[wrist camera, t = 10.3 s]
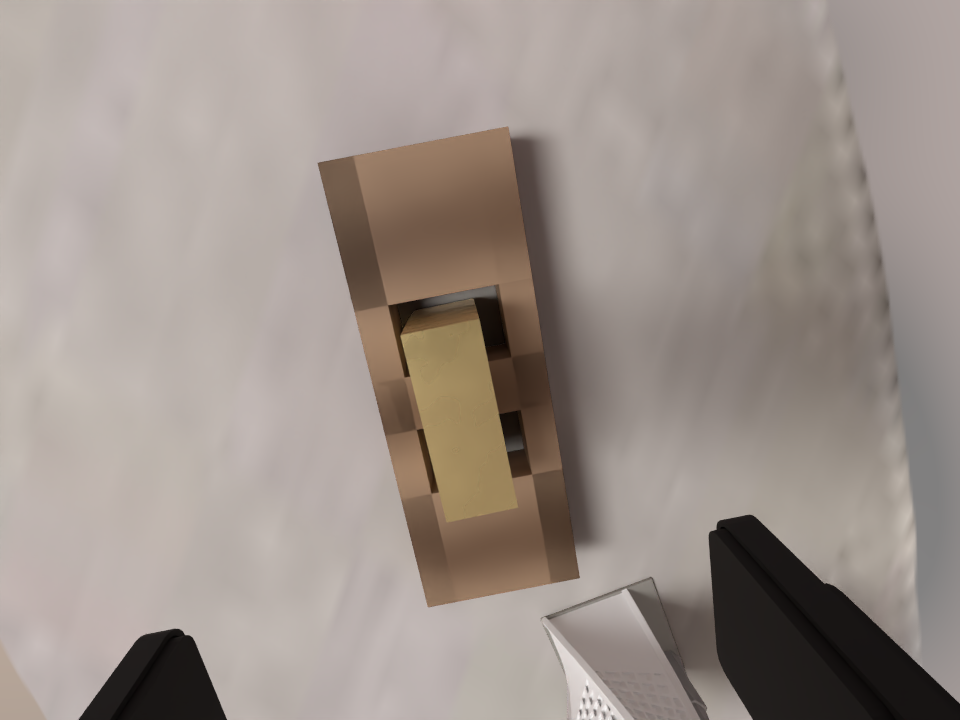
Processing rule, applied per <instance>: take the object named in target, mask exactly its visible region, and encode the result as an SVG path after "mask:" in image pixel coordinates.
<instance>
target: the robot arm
mask: <svg viewBox="0 0 960 720" xmlns="http://www.w3.org/2000/svg"><path fill="white" fill-rule="evenodd" d="M709 549H710V563H711V577H712V590H713V604H714V618H715V632H716V645H717V654H718V657H719V661H720V663H721V666H722V668H723V671H724V672H725V674H726V676H727V678H728V679H729V681H730V683H731V684H732V686H733V687H734V689H735V691H736V692H737V694H738V696H739V697H740V699H741V701H742V702H743V704H744V705H745V707H746V709H747V710H748V712H749V714H750V715H751V717H752V719H753V720H960V704H959V702H957V701H956V700H955V699H954V698H953V697H952V696H951V695H950V694H949V693H948V692H947V691H946V690H945V689H944V688H943V687H942V686H941V685H939V684H938V683H937V682H936V681H935V680H934V679H933V678H932V677H931V676H930V675H929V674H928V673H927V672H926V671H925V670H924V669H923V668H922V667H921V666H920V665H918V664H917V663H916V662H915V661H914V660H913V659H912V658H911V657H910V656H909V655H908V654H907V653H906V652H905V651H904V650H903V649H902V648H901V647H899V646H898V645H897V644H896V643H895V642H894V641H893V640H892V639H891V638H890V637H889V636H888V635H887V634H886V633H885V632H884V631H883V630H882V629H881V628H879V627H878V626H877V625H876V624H875V623H874V622H873V621H872V620H871V619H870V618H869V617H868V616H867V615H866V614H865V613H864V612H863V611H862V610H861V609H859V608H858V607H857V606H856V605H855V604H854V603H853V602H852V601H851V600H850V599H849V598H848V597H847V596H846V595H845V594H844V593H843V592H841V591H840V590H839V589H837V588H836V587H835V586H833V585H830V584H827V583H826V584H824V583H823V582H822V581H821V580H820V579H819V578H818V577H817V576H816V575H815V574H814V573H813V572H812V571H810V570H809V569H808V568H807V567H806V566H805V565H804V564H803V563H802V562H801V561H800V560H799V559H798V558H797V557H796V556H795V555H794V554H793V553H792V552H791V551H790V550H789V549H788V548H787V547H786V546H785V545H784V544H783V543H782V542H781V541H780V540H779V539H778V538H777V537H776V536H774V535H773V534H772V533H771V532H770V531H769V530H768V529H767V528H766V527H765V526H764V525H763V524H762V523H761V522H760V521H759V520H758V519H757V518H756V517H754V516H753V515H745V516H740V517H735V518H730V519H725V520H720V521H719V522H718V523H717V530H714V531H711V532H710V533H709ZM79 720H227V719H226V716H225V714H224V711H223V709H222V707H221V704H220V702H219V699H218V697H217V694H216V692H215V690H214V687H213V685H212V682H211V680H210V677H209V675H208V673H207V670H206V668H205V665H204V663H203V660H202V658H201V656H200V653H199V651H198V648H197V646H196V643H195V641H194V639H193V638H192V637H191V636H190V635H186V636H185V634H184V633H183V631H181V630H180V629H171V630H166V631H161V632H156V633H151V634H146V635H143V636H141V637H140V638H139V639H138V640H137V641H136V642H135V643H134V645H133V646H132V647H131V649H130V650H129V651H128V653H127V654H126V655H125V657H124V658H123V660H122V661H121V662H120V664H119V665H118V666H117V668H116V669H115V670H114V672H113V673H112V675H111V676H110V677H109V679H108V680H107V681H106V683H105V684H104V686H103V687H102V688H101V690H100V691H99V692H98V694H97V695H96V696H95V698H94V699H93V701H92V702H91V703H90V705H89V706H88V707H87V709H86V710H85V711H84V713H83V714H82V716H81V717H80V718H79Z"/></svg>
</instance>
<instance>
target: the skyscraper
mask: <svg viewBox="0 0 960 720" xmlns="http://www.w3.org/2000/svg"><path fill="white" fill-rule="evenodd" d="M541 622H542V624H543V626H544V628H545V631H546V633H547V635H548V637H549V640H550V642H551V644H552V646H553V648H554V651H555V653H556V655H557V657H558V660H559V662H560V664H561V666H562V669H563V671H564V673H565V675H566V678H567V720H709V718H708V716H707V713H706V710H707V707H706V705H705V704H704V702H703V701H702V699H701V697H700V696H699V694H698V693H697V691H696V690H695V688H694V687H693V685H692V684H691V682H690V681H689V679H688V677H687V674H686V672H685V669H684V668H685V667H684V665H683V662H682V659H681V657H680V654H679V651H678V648H677V646H676V643H675V640H674V638H673V635H672V632H671V629H670V627H669V624H668V621H667V619H666V616H665V613H664V611H663V608H662V605H661V602H660V600H659V597H658V594H657V592H656V589H655V586H654V584H653V581H652V578H651V577H650V578H647V579H644V580H642V581H639V582H636V583H634V584H631V585H628V586H626V587H623V588H620V589H618V590H615V591H612V592H610V593H607V594H604V595H602V596H599V597H596V598H594V599H591V600H588V601H586V602H583V603H580V604H578V605H575V606H572V607H570V608H567V609H564V610H562V611H559V612H556V613H554V614H551V615H548V616H546V617H543V618H541Z"/></svg>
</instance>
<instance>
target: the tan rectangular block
mask: <svg viewBox="0 0 960 720" xmlns="http://www.w3.org/2000/svg"><path fill="white" fill-rule="evenodd" d="M400 336H401V340H402V344H403V348H404V353H405V357H406V361H407V365H408V369H409V373H410V377H411V381H412V385H413V389H414V393H415V397H416V401H417V405H418V409H419V413H420V417H421V421H422V425H423V429H424V433H425V437H426V442H427V446H428V450H429V454H430V458H431V462H432V466H433V470H434V474H435V478H436V482H437V486H438V490H439V494H440V498H441V502H442V506H443V510H444V514H445V518H446V522H452V521H457V520H462V519H466V518H471V517H476V516H481V515H485V514H490V513H495V512H500V511H505V510H509V509H514V508H518V504H517V499H516V495H515V490H514V485H513V480H512V475H511V470H510V465H509V461H508V456H507V451H506V446H505V441H504V436H503V431H502V427H501V422H500V417H499V412H498V407H497V402H496V398H495V393H494V388H493V383H492V378H491V373H490V368H489V364H488V359H487V354H486V349H485V344H484V339H483V334H482V330H481V325H480V320H479V316H478V313H477V309H476V305H475V302H474V299H473V298H472V299H467V300H462V301H458V302H453V303H448V304H443V305H439V306H434V307H429V308H424V309H419V310H415V311H414V312H413V314H412V316H411V317H409V319H408V321H407V323H406V325H405V327H404V329H403V331H402V333H401V335H400Z"/></svg>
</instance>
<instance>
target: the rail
mask: <svg viewBox="0 0 960 720" xmlns="http://www.w3.org/2000/svg"><path fill="white" fill-rule="evenodd" d="M318 167H319V171H320V175H321V179H322V183H323V187H324V191H325V195H326V199H327V203H328V207H329V211H330V215H331V219H332V223H333V227H334V231H335V235H336V239H337V243H338V247H339V251H340V255H341V259H342V263H343V267H344V271H345V275H346V279H347V283H348V287H349V291H350V295H351V299H352V303H353V307H354V312H355V316H356V320H357V324H358V328H359V332H360V336H361V340H362V344H363V348H364V352H365V356H366V360H367V364H368V368H369V372H370V376H371V380H372V384H373V388H374V392H375V396H376V400H377V404H378V408H379V412H380V416H381V420H382V424H383V428H384V432H385V436H386V440H387V444H388V448H389V452H390V456H391V460H392V464H393V469H394V473H395V477H396V481H397V485H398V489H399V493H400V497H401V501H402V505H403V509H404V513H405V517H406V521H407V525H408V529H409V533H410V537H411V541H412V545H413V549H414V553H415V557H416V561H417V565H418V569H419V573H420V577H421V581H422V585H423V589H424V593H425V597H426V601H427V605H428V607H432V606H437V605H443V604H448V603H453V602H458V601H463V600H469V599H474V598H479V597H484V596H489V595H494V594H500V593H505V592H510V591H515V590H520V589H526V588H531V587H536V586H541V585H546V584H552V583H557V582H562V581H567V580H572V579H577V578H580V576H579V570H578V564H577V558H576V551H575V545H574V539H573V532H572V526H571V520H570V513H569V507H568V501H567V494H566V488H565V482H564V475H563V469H562V463H561V457H560V450H559V444H558V438H557V431H556V425H555V419H554V412H553V406H552V400H551V393H550V387H549V381H548V374H547V368H546V362H545V355H544V349H543V343H542V337H541V330H540V324H539V318H538V311H537V305H536V299H535V292H534V286H533V280H532V273H531V267H530V261H529V254H528V248H527V242H526V236H525V229H524V223H523V217H522V210H521V204H520V198H519V191H518V185H517V179H516V172H515V166H514V160H513V153H512V147H511V141H510V135H509V128H508V127H503V128H498V129H492V130H487V131H482V132H477V133H471V134H466V135H461V136H456V137H450V138H445V139H440V140H435V141H430V142H424V143H419V144H414V145H409V146H403V147H398V148H393V149H388V150H382V151H377V152H372V153H367V154H361V155H356V156H351V157H346V158H340V159H335V160H330V161H325V162H319V163H318ZM492 285H495V287H496V293H497V299H498V304H499V310H500V316H501V321H502V327H503V332H504V338H505V343H504V344H499V345H494V346H489V347H485V349H486V354H487V359H488V364H489V368H490V373H491V378H492V383H493V388H494V393H495V398H496V402H497V407H498V412H499V414H502V413H507V412H512V411H517V412H518V417H519V423H520V429H521V434H522V440H523V445H524V449H523V450H518V451H512V452H507V456H508V461H509V465H510V470H511V475H512V480H513V485H514V490H515V495H516V499H517V504H518V508H514V509H509V510H505V511H500V512H495V513H490V514H485V515H481V516H476V517H471V518H466V519H462V520H457V521H452V522H446V518H445V514H444V510H443V506H442V502H441V498H440V494H439V490H438V486H437V482H436V478H435V474H434V470H433V466H432V462H431V458H430V454H429V450H428V446H427V442H426V437H425V433H424V429H423V425H422V421H421V417H420V413H419V409H418V405H417V401H416V397H415V393H414V389H413V385H412V381H411V377H410V373H409V369H408V365H407V361H406V357H405V353H404V348H403V344H402V340H401V336H400V335H401V333H402V331H403V329H402V324H401V320H400V316H399V311H398V307H397V304H398V303H403V302H408V301H414V300H419V299H424V298H429V297H434V296H440V295H445V294H450V293H455V292H461V291H466V290H471V289H476V288H481V287H487V286H492Z"/></svg>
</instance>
